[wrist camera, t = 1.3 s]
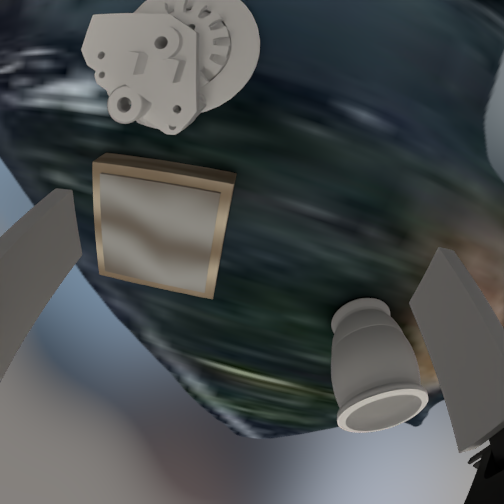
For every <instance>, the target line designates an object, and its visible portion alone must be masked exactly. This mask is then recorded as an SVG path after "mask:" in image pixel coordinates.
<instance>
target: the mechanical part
mask: <svg viewBox="0 0 504 504" xmlns="http://www.w3.org/2000/svg"><path fill="white" fill-rule="evenodd" d="M81 51H82V53H83V56H84V58H85V61H86V63H87V65H88V66H89V67H91V68H92V69H94V70H95V71H96V72H95V75H94V76H95V79H96V82H97V84H98V85H100V86H101V87H102V88H104V89H105V90H107V94H108V95H109V98H108V103H107V108H108V112H109V114H110V116H111V117H112V118H113V119H114V120H115V121H116V122H118V123H122V124H128V123H131V122H133V121H135V120H136V121H137V123H140V124H142V125H145V126H148V127H152V128H156V129H160V130H161V131H162V132H164V133H165V134H171V135H176V134H177V133H179V132H180V131H182V130H184V129H185V128H186V127H187V126H188V125H190V124H191V123H192V122H193V121H194V120H195V119H196V117H197V116H198V115H199V114H200V113H201V112H206V111H208V110H211V109H213V108H216V107H218V106H220V105H222V104H223V103H225V102H226V101H228V100H230V99H231V98H232V97H233V96H234V95H236V94H237V93H238V92H239V91H240V90H241V89H242V88H243V87H244V86H245V84H246V83H247V82H248V80H249V79H250V78H251V76H252V74H253V72H254V70H255V68H256V66H257V62H258V58H259V54H260V37H259V31H258V26H257V24H256V22H255V20H254V17H253V15H252V13H251V12H250V11H249V9H248V8H247V7H246V5H245V4H244V3H243V2H242V1H241V0H147V1H145V2H144V3H143V4H142V5H141V6H140V7H139V8H138V9H137V10H136V11H135V12H134V13H117V14H97V15H93V16H92V19H91V22H90V25H89V28H88V30H87V33H86V36H85V39H84V43H83V46H82V49H81ZM129 104H132V105H131V107H130V105H129Z"/></svg>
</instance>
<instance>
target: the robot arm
mask: <svg viewBox="0 0 504 504" xmlns="http://www.w3.org/2000/svg"><path fill="white" fill-rule="evenodd" d="M81 256H82V250H81V245H80V239H79V234H78V228H77V221H76V215H75V208H74V201H73V192H72V190H66V189H55V190H53V191H52V192H51V193H50V194H48V195H47V196H46V197H45V198H44V199H42V200H41V201H40V202H39V203H38V204H36V205H35V206H34V207H33V208H32V209H31V210H30V211H28V212H27V213H26V214H25V215H24V216H23V217H22V218H20V219H19V220H18V221H17V222H16V223H15V224H14V225H13V226H12V227H11V228H10V229H8V230H7V231H6V232H5V233H4V234H3V235H2V236H1V237H0V382H1V380H2V378H3V376H4V374H5V372H6V371H7V369H8V367H9V365H10V363H11V361H12V360H13V358H14V356H15V354H16V352H17V351H18V349H19V348H20V346H21V344H22V342H23V341H24V339H25V337H26V336H27V334H28V332H29V331H30V329H31V328H32V326H33V324H34V323H35V321H36V320H37V318H38V317H39V315H40V313H41V312H42V310H43V309H44V307H45V306H46V304H47V303H48V301H49V300H50V298H51V297H52V295H53V294H54V293H55V291H56V290H57V288H58V287H59V285H60V284H61V283H62V281H63V280H64V278H65V277H66V276H67V274H68V273H69V271H70V270H71V269H72V267H73V266H74V265H75V263H76V262H77V261H78V259H79V258H80V257H81ZM409 304H410V307H411V309H412V312H413V314H414V316H415V319H416V321H417V324H418V326H419V329H420V331H421V334H422V336H423V339H424V341H425V344H426V347H427V349H428V352H429V355H430V358H431V360H432V363H433V366H434V369H435V372H436V375H437V378H438V381H439V384H440V387H441V390H442V393H443V396H444V399H445V402H446V406H447V409H448V412H449V416H450V419H451V423H452V427H453V430H454V434H455V438H456V442H457V446H458V450H459V453H462V452H465V451H469V450H472V449H476V448H477V447H478V446H480V445H481V444H483V443H484V442H486V441H487V440H488V439H489V441H490V445H489V446H488V447H486V448H485V449H483V450H482V451H480V452H479V453H477V454H476V455H474V456H473V457H471V458H470V460H469V462H468V464H471V463H473V462H474V461H476V460H477V459H479V458H481V460H480V461H478V462H476V463H475V464H474V465H473V467H475V468H477V472H476V475H475V478H474V480H473V483H472V486H471V488H470V491H469V493H468V496H467V498H466V500H465V503H464V504H504V329H503V327H502V325H501V323H500V322H499V320H498V318H497V316H496V315H495V313H494V311H493V310H492V308H491V306H490V305H489V303H488V301H487V300H486V298H485V297H484V295H483V293H482V292H481V290H480V289H479V287H478V286H477V284H476V283H475V281H474V280H473V278H472V277H471V275H470V274H469V272H468V271H467V269H466V268H465V266H464V265H463V263H462V262H461V261H460V259H459V258H458V256H457V255H456V254H455V252H454V251H453V250H449V249H445V248H440V247H438V249H437V251H436V253H435V255H434V257H433V259H432V261H431V263H430V265H429V267H428V269H427V271H426V273H425V275H424V277H423V278H422V280H421V282H420V284H419V286H418V288H417V289H416V291H415V293H414V295H413V297H412V298H411V300H410V302H409Z"/></svg>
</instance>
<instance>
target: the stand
mask: <svg viewBox="0 0 504 504" xmlns="http://www.w3.org/2000/svg"><path fill="white" fill-rule="evenodd" d="M236 174H237V173H233V172H227V171H222V170H217V169H211V168H206V167H200V166H194V165H188V164H182V163H176V162H170V161H164V160H157V159H150V158H143V157H136V156H129V155H121V154H113V153H105V154H103V155H102V156H100V157H99V158H98V159H96V160H95V161H93V203H94V221H95V235H96V247H97V257H98V266H99V274H100V275H104V276H108V277H113V278H117V279H121V280H125V281H130V282H134V283H138V284H143V285H147V286H152V287H156V288H161V289H165V290H170V291H175V292H180V293H184V294H189V295H194V296H199V297H204V298H209V299H213V295H214V290H215V285H216V280H217V275H218V269H219V263H220V258H221V252H222V247H223V241H224V236H225V231H226V225H227V220H228V215H229V210H230V205H231V199H232V194H233V189H234V184H235V179H236Z"/></svg>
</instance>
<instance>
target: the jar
mask: <svg viewBox="0 0 504 504" xmlns="http://www.w3.org/2000/svg"><path fill="white" fill-rule="evenodd" d="M331 327H332V331H333V332H334V337H333V341H332V358H331V378H332V385H333V390H334V394H335V397H336V400H337V403H338V405H339V407H340V410H339V411H338V414H337V423H338V426H339V427H340V428H341V429H343V430H346V431H350V432H358V433H361V432H362V433H365V432H374V431H379V430H383V429H387V428H390V427H393V426H396V425H399V424H401V423H403V422H405V421H407V420H409V419H411V418H412V417H414V416H415V415H417V414H418V413H419V412H420V411H421V410H422V409H423V408H424V407H425V406H426V404H427V402H428V394H427V391H426V389H425V388H424V387H423V386H422V385H420V373H419V367H418V363H417V360H416V356H415V354H414V351H413V349H412V347H411V345H410V343H409V342H408V340H407V338H406V337H405V336H404V334H403V332H402V330H401V328H400V327H399V325H398V324H397V323H396V321H395V320H394V319H393V318H392V317H390V310H389V307H388V306H387V305H386V304H385V303H384V302H383V301H381V300H379V299H375V298H360V299H356V300H353V301H351V302H348V303H347V304H345V305H343V306H342V307H341V308H340V309H339V310H338V311H337V312H336V313H335V314H334V316H333V318H332V322H331Z"/></svg>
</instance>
